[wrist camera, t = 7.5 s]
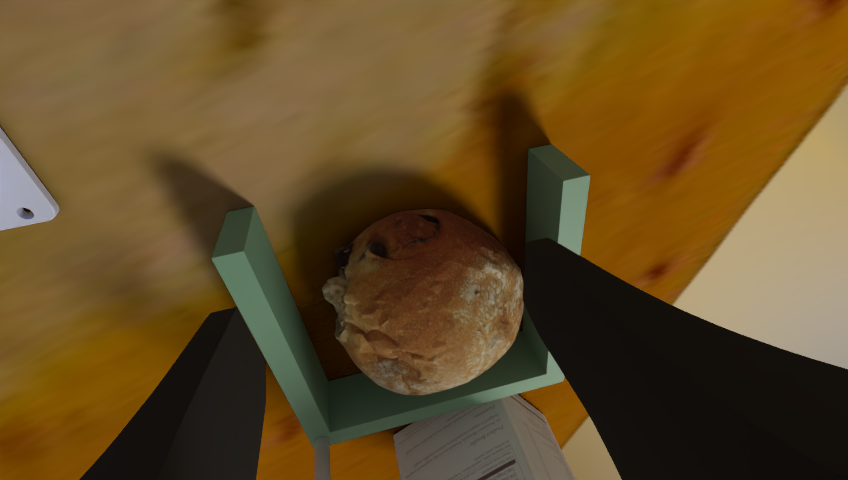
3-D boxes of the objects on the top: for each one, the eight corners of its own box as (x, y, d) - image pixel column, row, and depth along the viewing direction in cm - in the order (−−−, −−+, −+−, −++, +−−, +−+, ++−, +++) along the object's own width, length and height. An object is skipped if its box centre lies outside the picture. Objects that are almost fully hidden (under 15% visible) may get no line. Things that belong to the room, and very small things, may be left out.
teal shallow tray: (314, 397, 27) (314, 664, 17) (227, 211, 18) (122, 520, 8) (539, 338, 28) (662, 550, 18) (551, 144, 20) (790, 335, 10)
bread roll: (381, 312, 29) (434, 422, 25) (266, 284, 20) (320, 446, 16) (495, 224, 27) (572, 330, 23) (421, 152, 18) (525, 302, 14)
